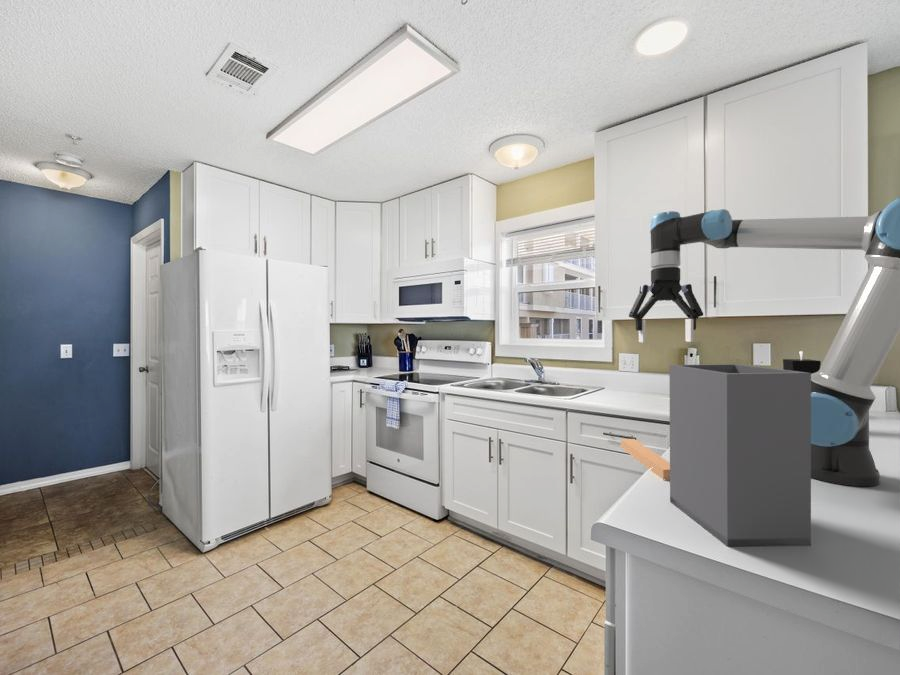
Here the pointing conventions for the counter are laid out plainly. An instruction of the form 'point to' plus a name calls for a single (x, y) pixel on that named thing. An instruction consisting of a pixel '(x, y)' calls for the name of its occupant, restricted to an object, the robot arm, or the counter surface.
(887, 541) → the counter surface
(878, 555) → the counter surface
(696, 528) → the counter surface
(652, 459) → the slat
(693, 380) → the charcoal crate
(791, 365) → the tissue box
